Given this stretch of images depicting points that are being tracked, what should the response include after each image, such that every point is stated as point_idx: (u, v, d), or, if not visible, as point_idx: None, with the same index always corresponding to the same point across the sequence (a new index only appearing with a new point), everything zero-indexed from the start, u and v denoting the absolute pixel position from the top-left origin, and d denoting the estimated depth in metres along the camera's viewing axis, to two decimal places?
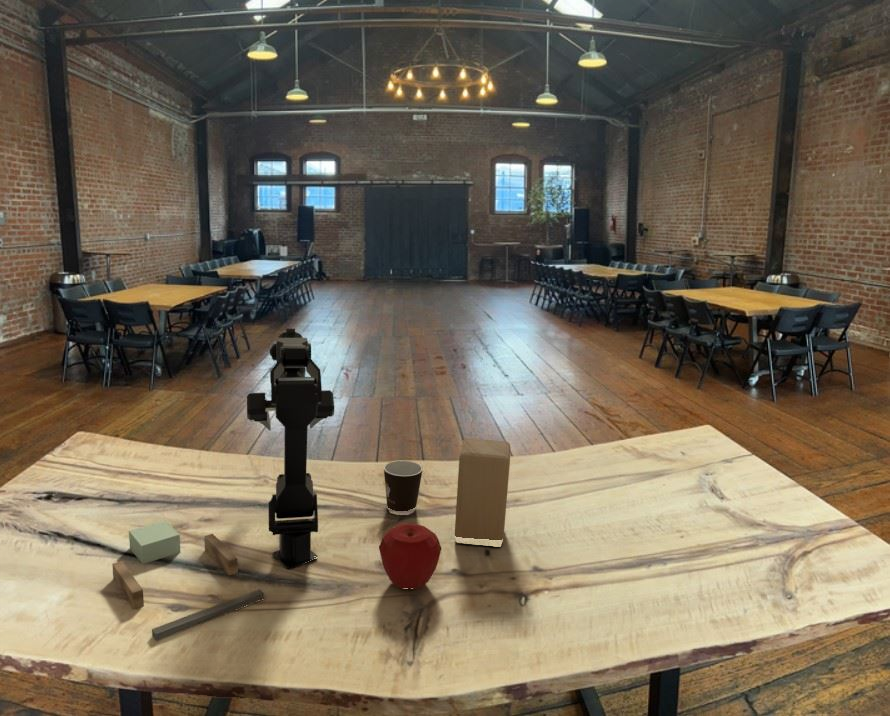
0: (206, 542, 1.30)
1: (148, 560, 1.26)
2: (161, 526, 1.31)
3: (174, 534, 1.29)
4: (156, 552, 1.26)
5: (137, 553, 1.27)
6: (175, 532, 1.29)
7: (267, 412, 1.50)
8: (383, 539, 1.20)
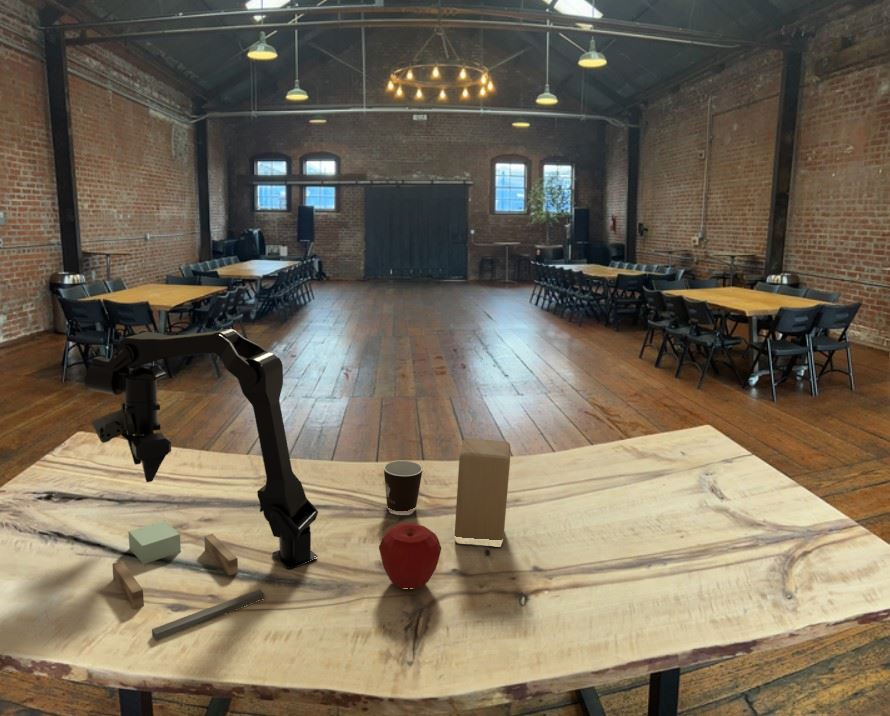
0: (206, 542, 1.30)
1: (149, 560, 1.26)
2: (161, 526, 1.31)
3: (174, 534, 1.29)
4: (157, 552, 1.26)
5: (137, 553, 1.27)
6: (175, 532, 1.29)
7: None
8: (383, 539, 1.20)
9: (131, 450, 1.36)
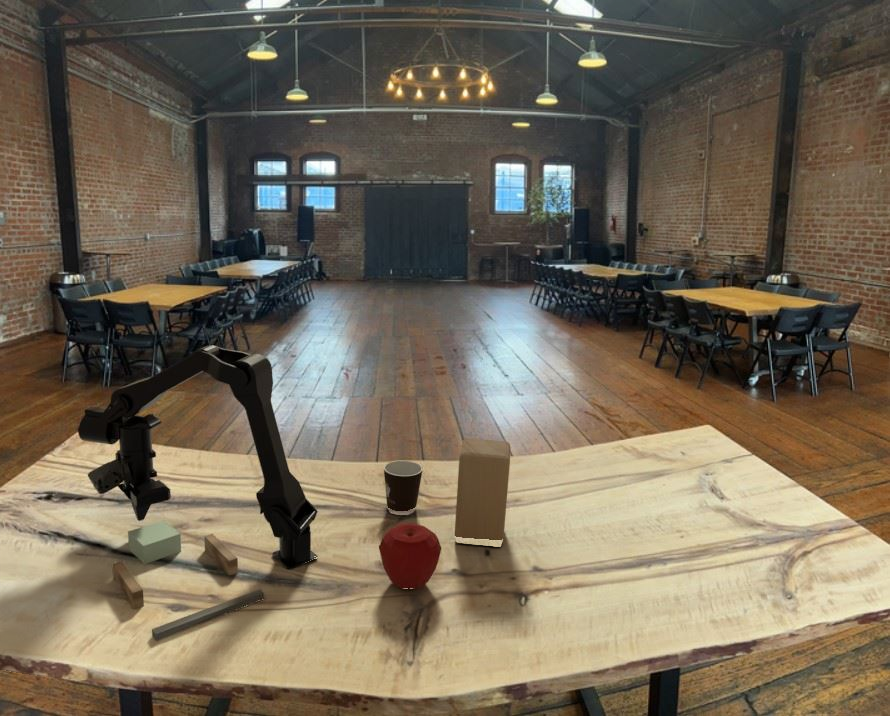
0: (206, 542, 1.30)
1: (150, 560, 1.26)
2: (160, 526, 1.31)
3: (175, 533, 1.29)
4: (157, 552, 1.26)
5: (138, 553, 1.27)
6: (175, 531, 1.30)
7: None
8: (383, 539, 1.20)
9: (133, 506, 1.34)
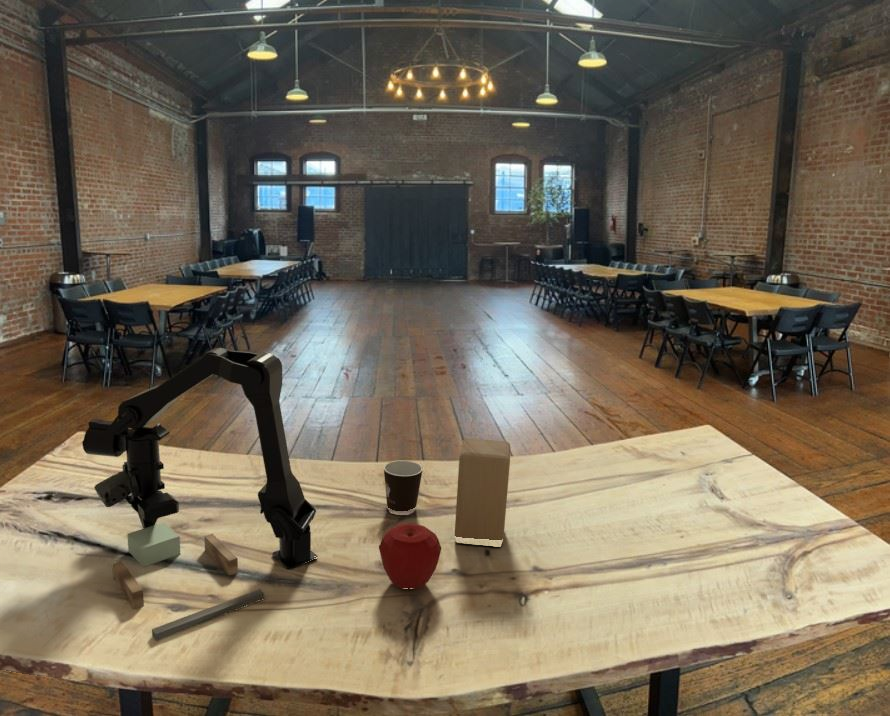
0: (206, 542, 1.30)
1: (149, 563, 1.25)
2: (160, 528, 1.30)
3: (174, 536, 1.28)
4: (156, 554, 1.26)
5: (137, 556, 1.26)
6: (175, 534, 1.29)
7: None
8: (383, 539, 1.20)
9: (141, 518, 1.31)
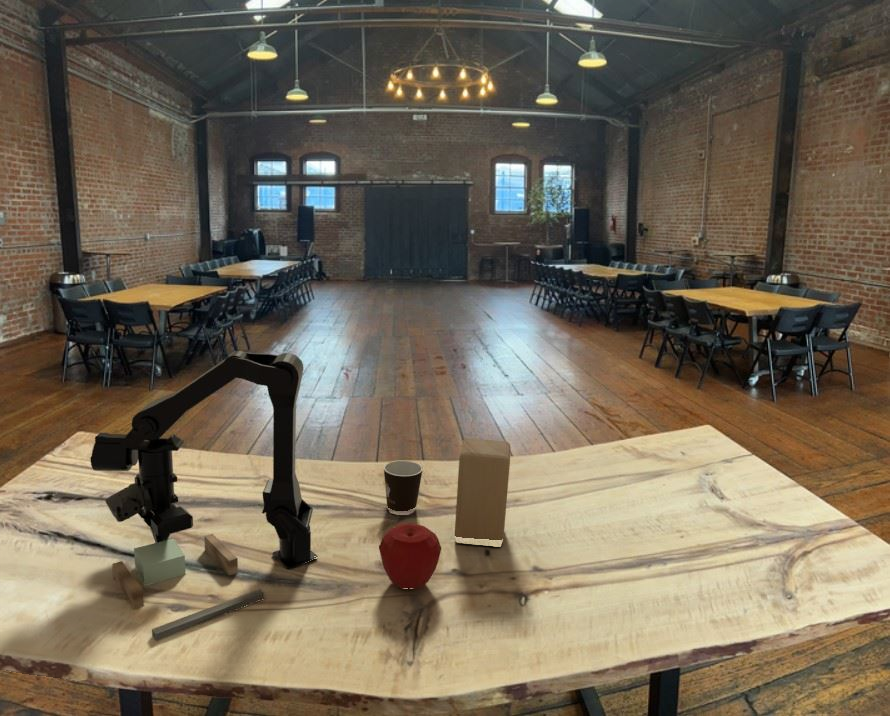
0: (206, 542, 1.30)
1: (150, 581, 1.19)
2: (168, 545, 1.25)
3: (179, 555, 1.22)
4: (159, 573, 1.20)
5: (140, 573, 1.20)
6: (180, 552, 1.22)
7: None
8: (383, 539, 1.20)
9: (153, 533, 1.26)
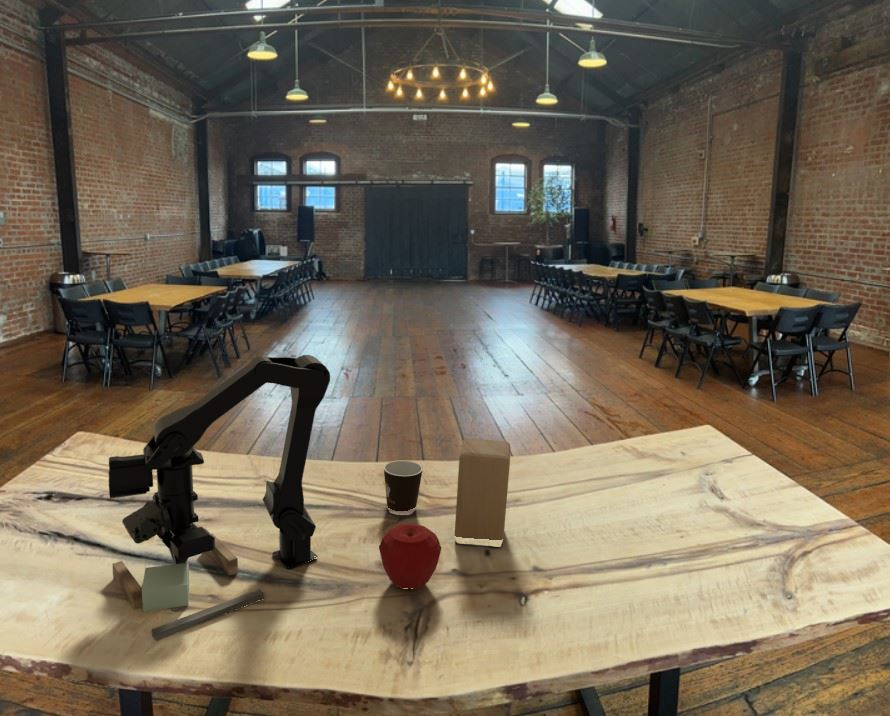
0: None
1: (149, 607, 1.12)
2: (178, 569, 1.17)
3: (182, 583, 1.13)
4: (159, 600, 1.12)
5: None
6: (185, 580, 1.14)
7: None
8: (383, 539, 1.20)
9: (172, 554, 1.19)
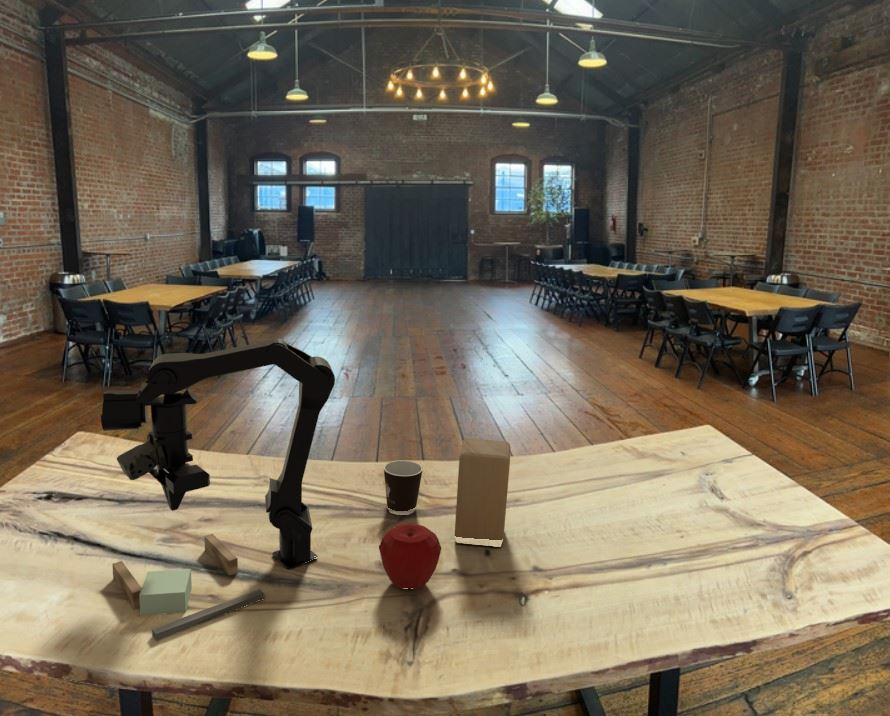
0: (206, 542, 1.30)
1: (147, 613, 1.11)
2: (179, 575, 1.16)
3: (180, 590, 1.12)
4: (156, 606, 1.11)
5: None
6: (184, 588, 1.12)
7: None
8: (383, 539, 1.20)
9: (166, 494, 1.20)
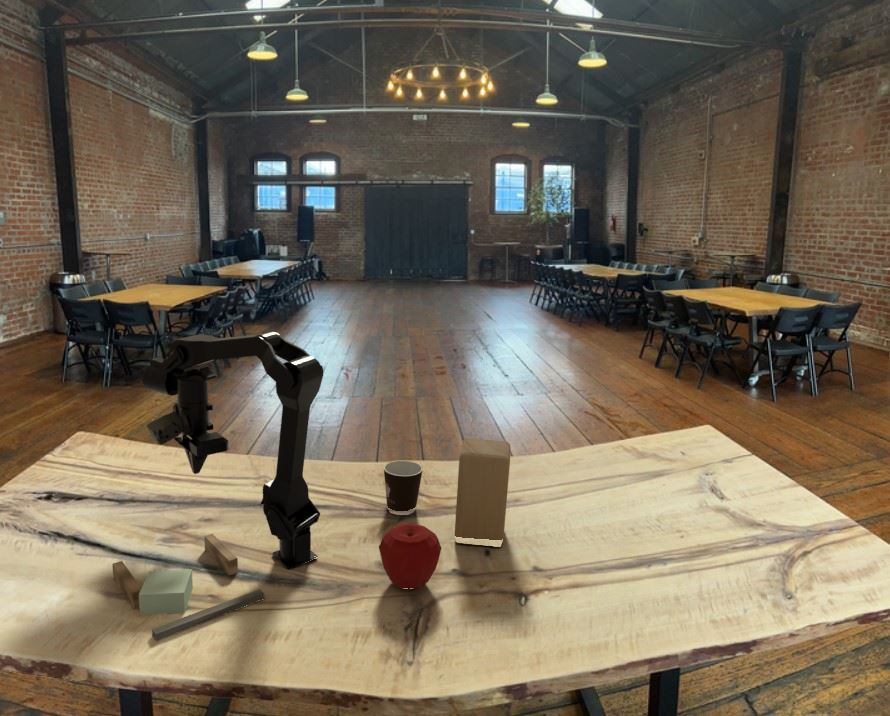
0: (206, 542, 1.30)
1: (146, 612, 1.11)
2: (180, 576, 1.15)
3: (179, 590, 1.11)
4: (156, 606, 1.11)
5: None
6: (183, 588, 1.12)
7: None
8: (383, 539, 1.20)
9: (189, 459, 1.35)
